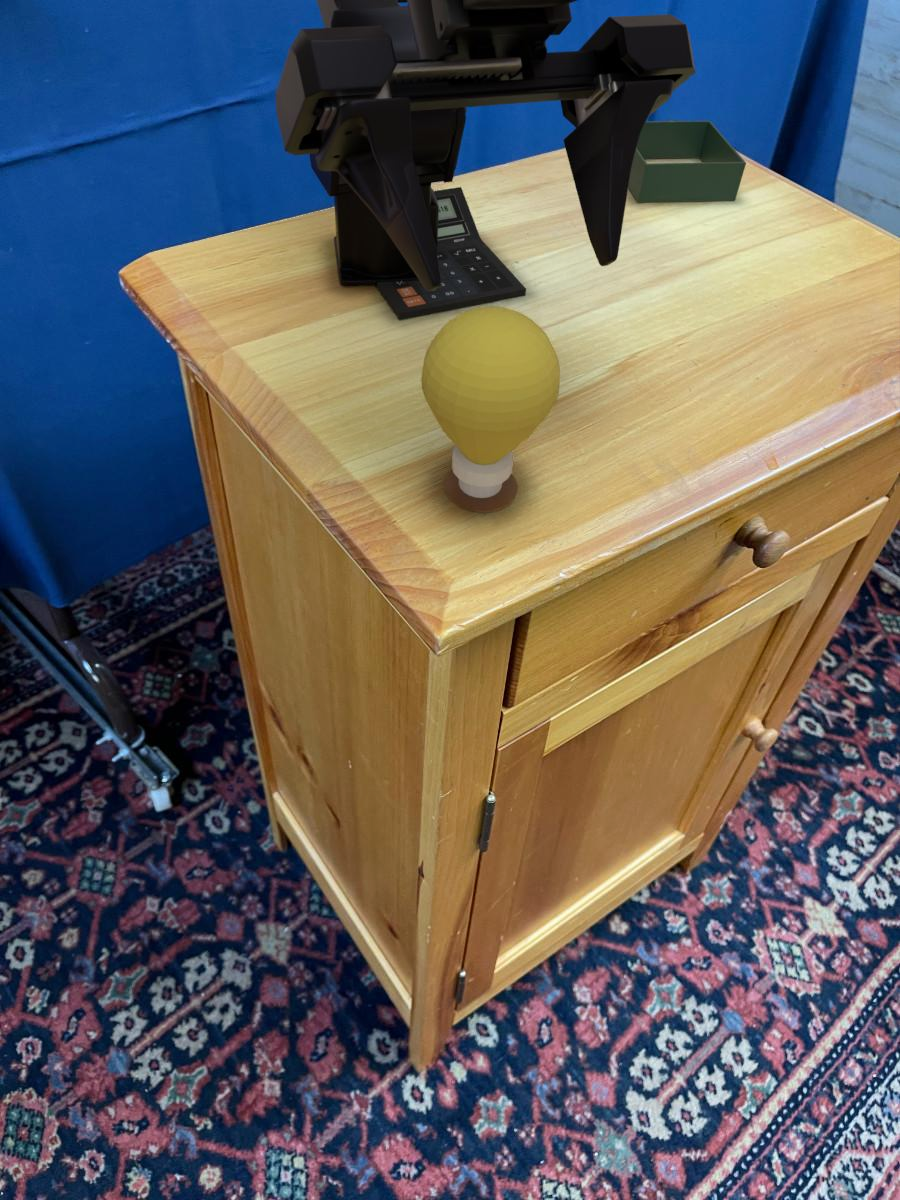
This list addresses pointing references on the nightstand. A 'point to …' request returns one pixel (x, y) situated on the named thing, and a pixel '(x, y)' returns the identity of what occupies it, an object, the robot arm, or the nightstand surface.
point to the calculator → (455, 268)
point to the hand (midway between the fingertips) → (524, 275)
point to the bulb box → (684, 179)
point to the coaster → (480, 504)
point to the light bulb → (489, 390)
